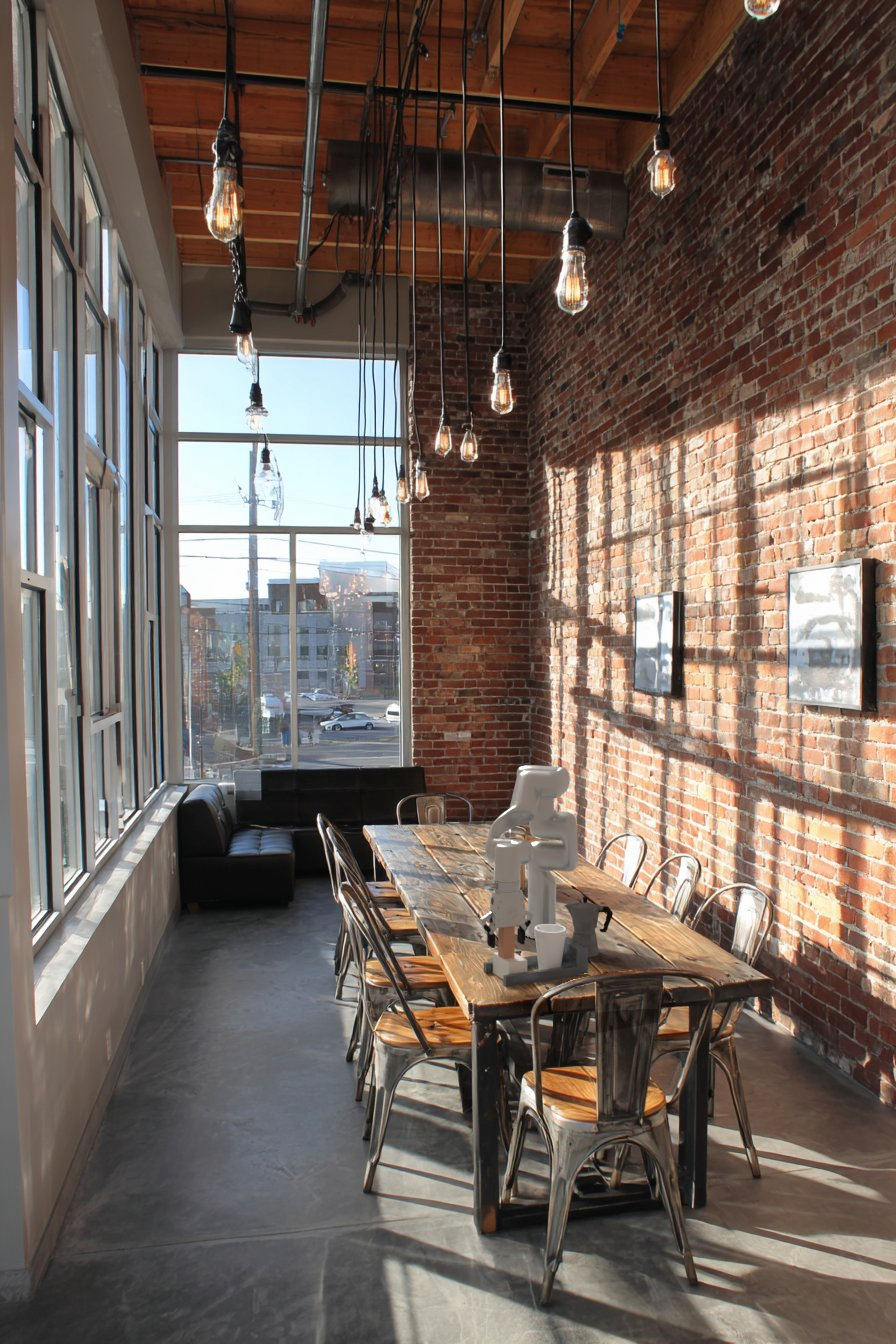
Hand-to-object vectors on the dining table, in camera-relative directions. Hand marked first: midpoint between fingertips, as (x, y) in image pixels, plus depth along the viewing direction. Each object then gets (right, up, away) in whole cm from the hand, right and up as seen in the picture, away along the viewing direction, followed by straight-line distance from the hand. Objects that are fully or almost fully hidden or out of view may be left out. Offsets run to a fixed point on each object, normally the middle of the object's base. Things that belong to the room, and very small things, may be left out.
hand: (506, 945), depth 275 cm
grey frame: (+9, -10, +4) cm, 14 cm away
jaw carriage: (+1, -10, +1) cm, 9 cm away
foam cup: (+13, -10, +6) cm, 18 cm away
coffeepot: (+27, -10, +25) cm, 38 cm away
